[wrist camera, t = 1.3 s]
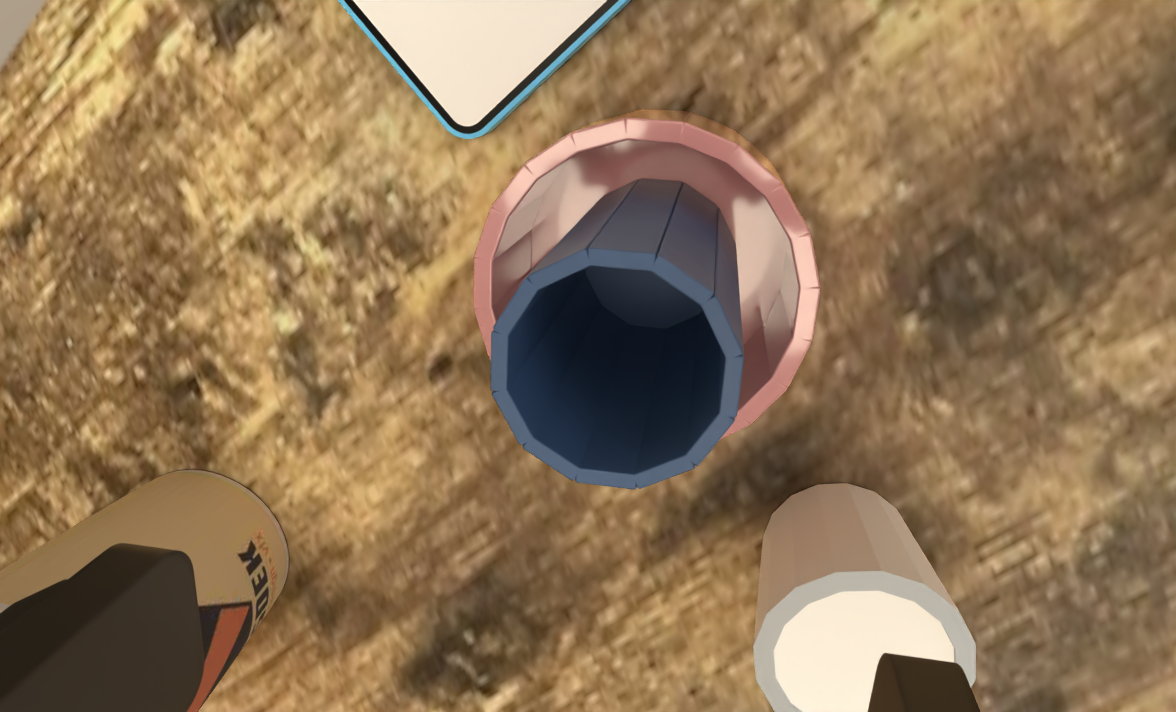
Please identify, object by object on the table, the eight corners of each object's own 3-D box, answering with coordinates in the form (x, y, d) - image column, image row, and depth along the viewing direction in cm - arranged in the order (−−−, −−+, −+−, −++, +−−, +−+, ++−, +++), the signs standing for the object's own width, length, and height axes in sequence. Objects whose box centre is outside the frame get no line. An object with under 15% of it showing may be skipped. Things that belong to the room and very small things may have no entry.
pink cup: (820, 119, 28) (845, 131, 22) (780, 400, 31) (792, 473, 25) (522, 100, 29) (474, 107, 23) (515, 372, 32) (471, 436, 27)
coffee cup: (293, 656, 39) (119, 895, 28) (110, 595, 39) (-135, 805, 28) (321, 488, 35) (135, 682, 24) (120, 424, 36) (-152, 584, 25)
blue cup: (743, 185, 28) (756, 261, 17) (725, 340, 30) (726, 501, 19) (581, 173, 29) (491, 239, 18) (573, 325, 31) (488, 472, 20)
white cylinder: (726, 490, 33) (726, 596, 26) (905, 449, 31) (953, 551, 24) (772, 633, 34) (783, 765, 28) (943, 602, 33) (998, 735, 26)
